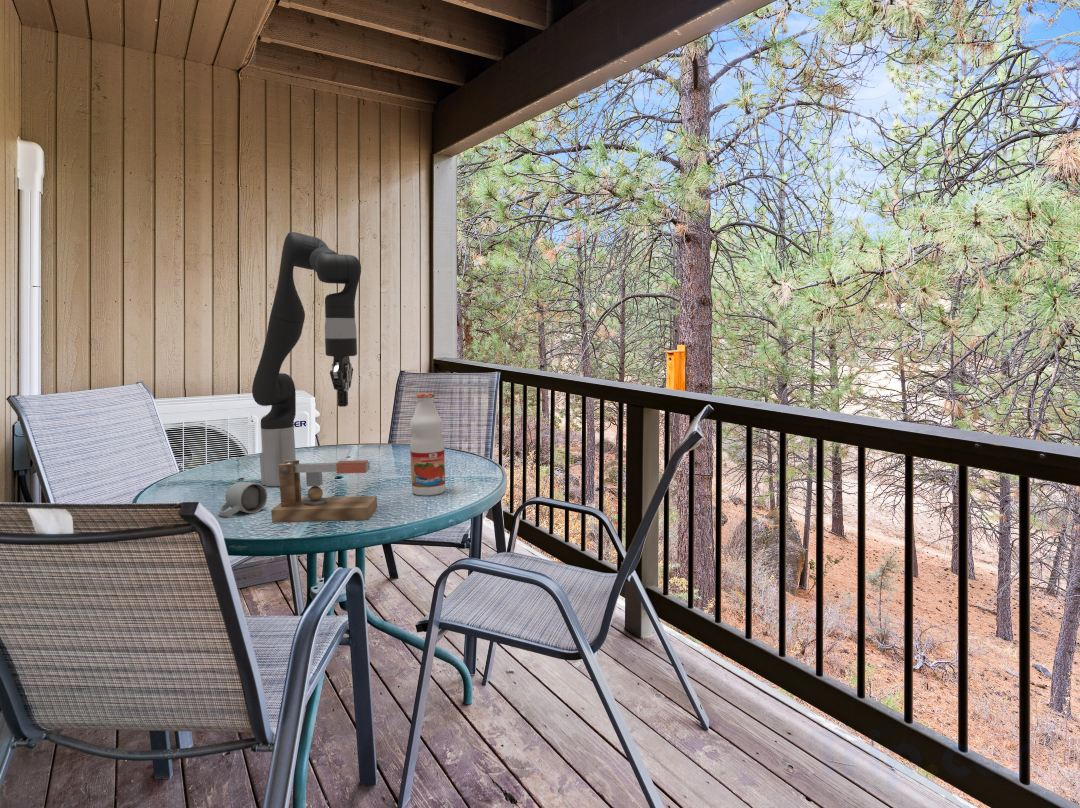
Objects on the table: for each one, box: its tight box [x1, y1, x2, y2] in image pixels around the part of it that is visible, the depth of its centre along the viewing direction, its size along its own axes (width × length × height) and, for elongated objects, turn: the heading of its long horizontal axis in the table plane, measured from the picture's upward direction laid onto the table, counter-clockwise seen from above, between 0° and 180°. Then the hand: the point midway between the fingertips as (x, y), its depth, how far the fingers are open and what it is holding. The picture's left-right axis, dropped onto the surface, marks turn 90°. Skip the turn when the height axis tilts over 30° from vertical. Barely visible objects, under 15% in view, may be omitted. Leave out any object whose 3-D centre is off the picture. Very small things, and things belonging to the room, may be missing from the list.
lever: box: [286, 459, 371, 487], centre depth 165 cm, size 21×3×6 cm, turn 92°
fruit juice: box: [409, 392, 446, 497], centre depth 186 cm, size 9×9×28 cm
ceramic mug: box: [218, 481, 268, 518], centre depth 169 cm, size 11×8×8 cm
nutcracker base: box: [270, 459, 378, 523], centre depth 165 cm, size 23×11×14 cm, turn 92°
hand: (343, 406), depth 166 cm, fingers closed
